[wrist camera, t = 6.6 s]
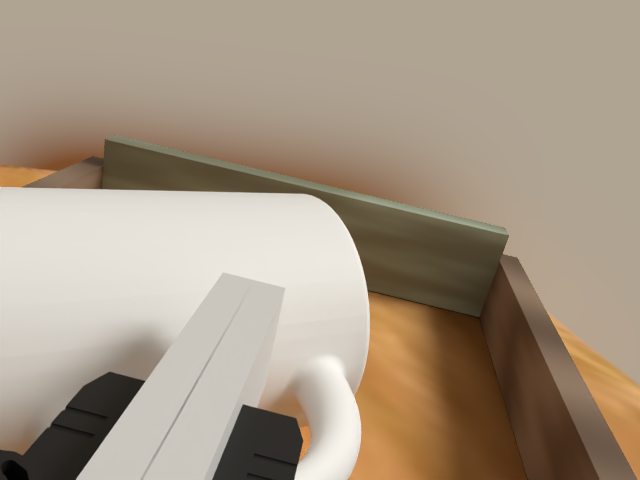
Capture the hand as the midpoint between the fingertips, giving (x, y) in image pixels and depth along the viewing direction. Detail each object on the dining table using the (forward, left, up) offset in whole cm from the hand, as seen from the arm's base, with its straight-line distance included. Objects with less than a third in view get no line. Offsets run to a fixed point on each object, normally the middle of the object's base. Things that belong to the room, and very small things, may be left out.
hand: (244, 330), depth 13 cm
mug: (-2, +1, -7) cm, 7 cm away
